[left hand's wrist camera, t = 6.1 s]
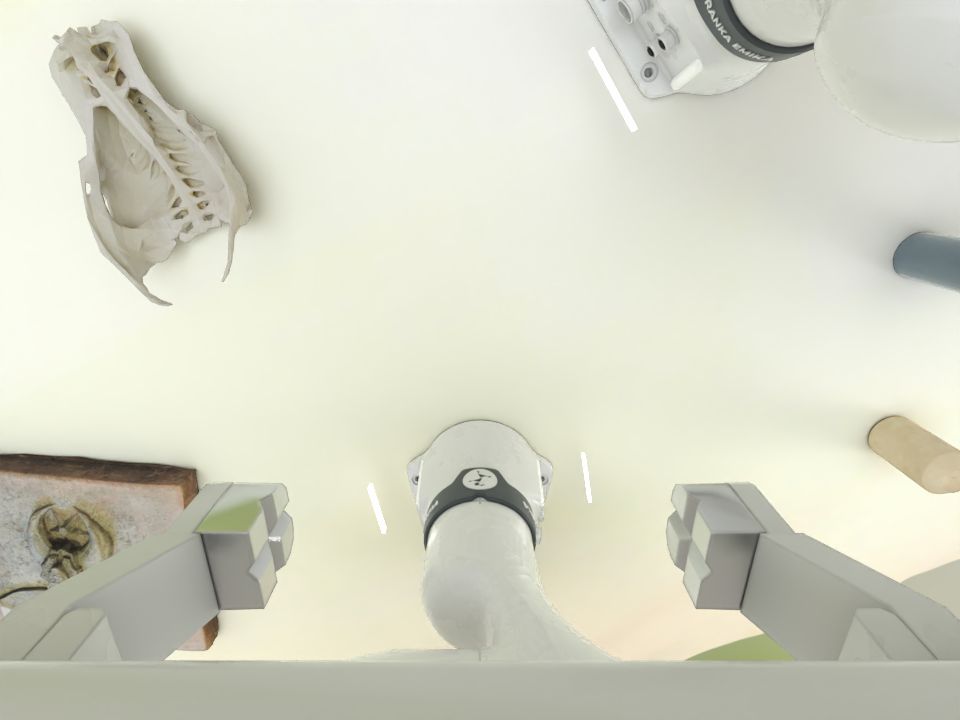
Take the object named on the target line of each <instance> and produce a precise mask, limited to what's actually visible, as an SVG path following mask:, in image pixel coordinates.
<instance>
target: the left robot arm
mask: <svg viewBox="0 0 960 720" xmlns="http://www.w3.org/2000/svg"><path fill="white" fill-rule="evenodd" d="M582 460H583V467H584V475H585V482H586V489H587V496H588V501H589V502H591V494H590V487H589V479H588V472H587V465H586V457H585V454H584V452H582ZM407 473H408V477H409V480H410V484H411V487H412V491H413V494H414V497H415V501H416V505H417V508H418V511H419V514H420V518H421V521H422V525H423V528H424V546H425V550H426V555H425V562H424V570H423V577H422V584H421V600H422V605H423V608H424V611H425V613H426V615H427V617H428V619H429V621H430V622H431V624H432V625H433V627H434V628H435V630H436V631H437V632H438V634H439V635H440V636H441V637H442V638H443V639H444V640H445V641H447V642H448V643H449V644H451V645H452V646H454V647H455V648H457V649H394V650H388V651H384V652H379V653H374V654H369V655H364V656H360V657H356V658H352V659H348V660H344V661H163V660H164V659H166V658H167V657H168V656H169V655H170V654H172V653H173V652H174V651H175V650H176V649H177V648H179V647H180V646H181V645H182V644H183V643H184V642H186V641H187V640H188V639H189V638H190V637H191V636H193V635H194V634H195V633H196V632H197V631H198V630H200V629H201V628H202V627H203V626H204V625H205V624H207V623H208V622H209V621H210V620H211V619H212V618H214V617H215V616H216V615H217V614H218V613H219V610H239V609H264V608H265V606H266V604H267V602H268V600H269V598H270V596H271V594H272V592H273V590H274V587H275V585H276V583H277V578H276V571H277V570H279V569H280V568H282V567H283V566H284V565H286V562H287V560H288V558H289V556H290V553H291V549H292V544H293V522H292V518H291V517H290V516H289V515H288V514H287V513H286V512H285V511H284V509H285V507H286V505H287V503H288V502H289V498H288V493H287V488H286V487H285V486H284V485H283V484H282V483H233V482H212V483H209V484H206V485H205V486H204V487H203V489H202V490H201V491H200V492H199V493H198V494H197V496H196V497H195V498H194V499H193V500H192V502H191V503H190V504H189V505H188V506H187V507H186V509H185V510H184V511H183V512H182V513H181V514H180V516H179V517H178V518H177V519H176V520H175V521H174V523H173V524H172V525H171V526H170V527H169V529H168V530H167V531H166V532H165V533H156V534H154V535H153V536H151V537H149V538H147V539H145V540H143V541H141V542H139V543H137V544H135V545H133V546H131V547H129V548H127V549H125V550H123V551H121V552H120V553H118V554H116V555H114V556H112V557H110V558H108V559H106V560H104V561H102V562H100V563H98V564H96V565H94V566H92V567H90V568H89V569H87V570H85V571H83V572H81V573H79V574H77V575H75V576H73V577H71V578H69V579H67V580H65V581H63V582H61V583H59V584H57V585H56V586H54V587H52V588H50V589H48V590H46V591H44V592H42V593H40V594H38V595H36V596H34V597H32V598H30V599H28V600H26V601H25V602H23V603H21V604H19V605H17V606H15V607H14V608H13V609H12V610H11V611H10V612H9V613H8V614H7V615H6V616H5V617H4V618H3V619H2V620H0V720H960V620H959V619H958V618H957V617H956V616H955V615H954V614H952V613H951V612H950V611H949V610H948V609H947V608H946V607H945V606H943V605H941V604H939V603H937V602H935V601H933V600H931V599H929V598H927V597H925V596H924V595H922V594H920V593H918V592H916V591H914V590H912V589H910V588H908V587H906V586H904V585H902V584H900V583H898V582H896V581H895V580H893V579H891V578H889V577H887V576H885V575H883V574H881V573H879V572H877V571H875V570H873V569H871V568H869V567H867V566H866V565H864V564H862V563H860V562H858V561H856V560H854V559H852V558H850V557H848V556H846V555H844V554H842V553H840V552H838V551H836V550H835V549H833V548H831V547H829V546H827V545H825V544H823V543H821V542H819V541H817V540H815V539H813V538H811V537H809V536H807V535H806V534H804V533H795V532H794V531H793V530H792V529H791V527H790V526H789V525H788V524H787V523H786V522H785V520H784V519H783V518H782V517H781V516H780V514H779V513H778V512H777V511H776V510H775V509H774V507H773V506H772V505H771V504H770V503H769V502H768V500H767V499H766V498H765V497H764V496H763V495H762V493H761V492H760V491H759V490H758V489H757V488H756V486H755V485H753V484H751V483H749V482H736V483H720V484H676V485H675V487H674V489H673V492H672V497H671V502H672V503H673V505H674V507H675V509H676V511H675V512H674V513H673V514H672V515H671V516H670V517H669V518H668V522H667V530H666V534H667V546H668V549H669V553H670V556H671V558H672V560H673V562H674V565H676V566H677V567H678V568H680V569H681V570H683V571H684V578H683V583H684V585H685V587H686V590H687V592H688V594H689V596H690V598H691V600H692V602H693V604H694V606H695V608H696V609H721V610H741V611H740V612H741V613H742V614H743V615H744V616H745V617H747V618H748V619H749V620H750V621H751V622H752V623H754V624H755V625H756V626H757V627H758V628H759V629H761V630H762V631H763V632H764V633H765V634H767V635H768V636H769V637H770V638H771V639H772V640H773V641H775V642H776V643H777V644H778V645H779V646H781V647H782V648H783V649H784V650H785V651H786V652H787V653H789V654H790V655H791V656H792V657H793V658H794V659H796V660H797V661H624V660H622V659H620V658H618V657H616V656H614V655H612V654H610V653H608V652H606V651H605V650H603V649H601V648H600V647H598V646H597V645H595V644H594V643H592V642H591V641H589V640H588V639H587V638H585V637H584V636H583V635H582V634H580V633H579V632H578V631H577V630H576V629H575V628H574V627H573V626H572V625H570V624H569V623H568V622H567V621H566V620H565V619H564V617H563V616H562V615H561V614H560V613H559V612H558V611H557V609H556V608H555V607H554V606H553V604H552V603H551V601H550V600H549V598H548V597H547V595H546V593H545V591H544V589H543V587H542V584H541V580H540V576H539V573H538V568H537V564H536V559H535V554H534V551H535V546H536V544H539V543H540V541H541V535H542V529H541V526H540V525H538V521H539V522H540V521H541V522H542V521H543V518H544V511H543V510H542V508H543V505H544V501H545V497H546V494H547V491H548V487H549V484H550V481H551V477H552V473H553V468H552V464H551V463H550V462H549V461H548V460H546V459H545V458H543V457H542V456H540V455H538V454H536V453H535V452H534V451H533V450H532V449H531V447H530V446H529V444H528V443H527V442H526V440H525V439H524V438H523V437H522V436H521V435H520V434H519V433H517V432H516V431H514V430H513V429H511V428H509V427H507V426H505V425H503V424H500V423H497V422H492V421H485V420H475V421H468V422H463V423H460V424H457V425H455V426H453V427H451V428H449V429H447V430H446V431H444V432H443V433H442V434H440V435H439V436H438V437H437V438H436V439H435V440H434V442H433V443H432V444H431V446H430V447H429V449H428V450H427V451H426V452H425V453H424V454H422V455H420V456H419V457H417V458H415V459H414V460H412V461H411V462H410V463H409V464H408V469H407ZM417 476H419V478H417ZM541 476H543V478H541ZM368 491H369V494H370V497H371V500H372V503H373V506H374V509H375V512H376V515H377V518H378V521H379V524H380V527H381V530H382V533H385V530H386V526H385V523H384V520H383V516H382V513H381V510H380V507H379V504H378V501H377V498H376V495H375V492H374V488H373V485H372V484H369V487H368Z"/></svg>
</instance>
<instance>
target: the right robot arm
mask: <svg viewBox="0 0 960 720" xmlns="http://www.w3.org/2000/svg"><path fill="white" fill-rule="evenodd" d="M588 2H589V3H590V5H591V7H592V8H593V10H594V12H595V14H596V15H597V17H598V19H599V21H600V22H601V24H602V26H603V27H604V29H605V31H606V33H607V34H608V36H609V38H610V40H611V41H612V43H613V45H614V46H615V48H616V50H617V52H618V53H619V55H620V57H621V58H622V60H623V62H624V64H625V65H626V67H627V69H628V71H629V72H630V74H631V76H632V77H633V79H634V81H635V83H636V84H637V86H638V88H639V89H640V91H641V93H642V94H643V95H644V96H645V97H647V98H659V97H663V96H667V95H670V94H673V93H680V92H681V93H689V94H695V95H716V94H721V93H725V92H728V91H731V90H734V89H736V88H738V87H740V86H742V85H744V84H745V83H747V82H749V81H750V80H752V79H753V78H754V77H755V76H757V75H758V74H759V73H760V72H761V71H762V70H763V69H764V68H765V67H766V66H767V65H768V64H769V63H770V62H777V61H781V60H785V59H788V58H791V57H794V56H797V55H800V54H802V53H805V52H807V51H810V50H812V49H814V54H815V58H816V62H817V66H818V69H819V71H820V73H821V76H822V78H823V80H824V82H825V84H826V86H827V88H828V89H829V91H830V92H831V94H832V95H833V97H834V98H835V99H836V100H837V101H838V102H839V104H840V105H841V106H842V107H843V108H844V109H845V110H846V111H847V112H849V113H850V114H851V115H853V116H854V117H855V118H857V119H858V120H859V121H861V122H862V123H864V124H866V125H868V126H870V127H872V128H874V129H876V130H879V131H881V132H883V133H886V134H889V135H892V136H896V137H900V138H904V139H909V140H914V141H921V142H937V143H953V142H960V0H605V1H602V0H588ZM589 54H590V56H591V58H592V59H593V61H594V63H595V65H596V67H597V69H598V70H599V72H600V74H601V76H602V78H603V80H604V82H605V83H606V85H607V87H608V89H609V91H610V93H611V94H612V96H613V98H614V100H615V102H616V104H617V106H618V107H619V109H620V111H621V113H622V115H623V117H624V119H625V120H626V122H627V124H628V126H629V128H630V130H631V131H635V130H636V129H637V127H636V125H635V123H634V121H633V120H632V118H631V116H630V114H629V112H628V110H627V108H626V107H625V105H624V103H623V101H622V99H621V97H620V95H619V94H618V92H617V90H616V88H615V86H614V84H613V82H612V80H611V79H610V77H609V75H608V73H607V71H606V69H605V67H604V66H603V64H602V62H601V60H600V58H599V56H598V54H597V52H596V51H595V49H594V47H593V48H592V49H591V50H590V51H589ZM646 68H648V69H650V71H651V76H650V77H649V78H648V77H646V76H645V74H644V72H645V69H646Z"/></svg>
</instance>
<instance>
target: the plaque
mask: <svg viewBox="0 0 960 720" xmlns="http://www.w3.org/2000/svg"><path fill="white" fill-rule="evenodd" d="M195 472H196V470H186V469H181V468H177V467H172V466H164V465H155V464H134V463H119V462H106V461H95V460H90V459H86V458H81V457H49V456H38V455H27V454H17V455H0V620H2V619H3V618H4V617H5V616H6V615H7V614H8V613H9V612H10V611H11V610H12V609H13V608H14V607H15V606H17V605H19V604H21V603H23V602H25V601H26V600H28V599H30V598H32V597H34V596H36V595H38V594H40V593H42V592H44V591H46V590H48V589H50V588H52V587H54V586H56V585H57V584H59V583H61V582H63V581H65V580H67V579H69V578H71V577H73V576H75V575H77V574H79V573H81V572H83V571H85V570H87V569H89V568H90V567H92V566H94V565H96V564H98V563H100V562H102V561H104V560H106V559H108V558H110V557H112V556H114V555H116V554H118V553H120V552H121V551H123V550H125V549H127V548H129V547H131V546H133V545H135V544H137V543H139V542H141V541H143V540H145V539H147V538H149V537H151V536H153V535H154V534H156V533H165V532H166V531H167V530H168V529H169V527H170V526H171V525H172V524H173V523H174V521H175V520H176V519H177V518H178V517H179V516H180V514H181V513H182V512H183V511H184V510H185V509H186V507H187V506H188V505H189V504H190V503H191V502H192V500H193V499H194V498H195V497H196V496H197V494H198V493H199V492H198V488H197V481H196V479H195ZM217 635H218V621H217V618H216V616H215V617H214V618H212V619H211V620H210V621H209V622H208V623H207V624H205V625H204V626H203V627H202V628H201V629H200V630H198V631H197V632H196V633H195V634H194V635H193V636H191V637H190V638H189V639H188V640H187V641H186V642H184V643H183V644H182V645H181V646H180V647H179V648H177V649H176V650H185V651H205V650H208V649H209V648H210V647H211V646H212V645H213V642H214V640H215V638H216V637H217Z"/></svg>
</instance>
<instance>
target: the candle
mask: <svg viewBox="0 0 960 720" xmlns="http://www.w3.org/2000/svg"><path fill="white" fill-rule="evenodd" d="M868 442H869V446H870V447H871V449H872V450H873V451H874V452H876V453H877V454H878V455H879V456H881V457H882V458H883V459H885V460H886V461H888V462H889V463H890V464H892V465H893V466H894V467H896V468H897V469H898V470H900V471H901V472H902V473H904V474H905V475H906V476H908V477H909V478H910V479H912V480H913V481H914V482H916V483H917V484H919V485H920V486H921V487H923V488H924V489H925V490H927V491H928V492H930V493H934V494H945V493H955V492H958V491H960V450H958V449H956V448H955V447H953V446H951V445H950V444H948V443H946V442H945V441H943V440H941V439H940V438H938V437H937V436H935V435H933V434H932V433H930V432H928V431H927V430H925V429H923V428H922V427H920V426H918V425H917V424H915V423H914V422H912V421H910V420H908V419H906V418H904V417H899V416H894V417H889V418H886V419H884V420H882V421H880V422H879V423H878V424H876V425H875V426H874V428H873V429H872V430H871V432H870V434H869V438H868Z"/></svg>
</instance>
